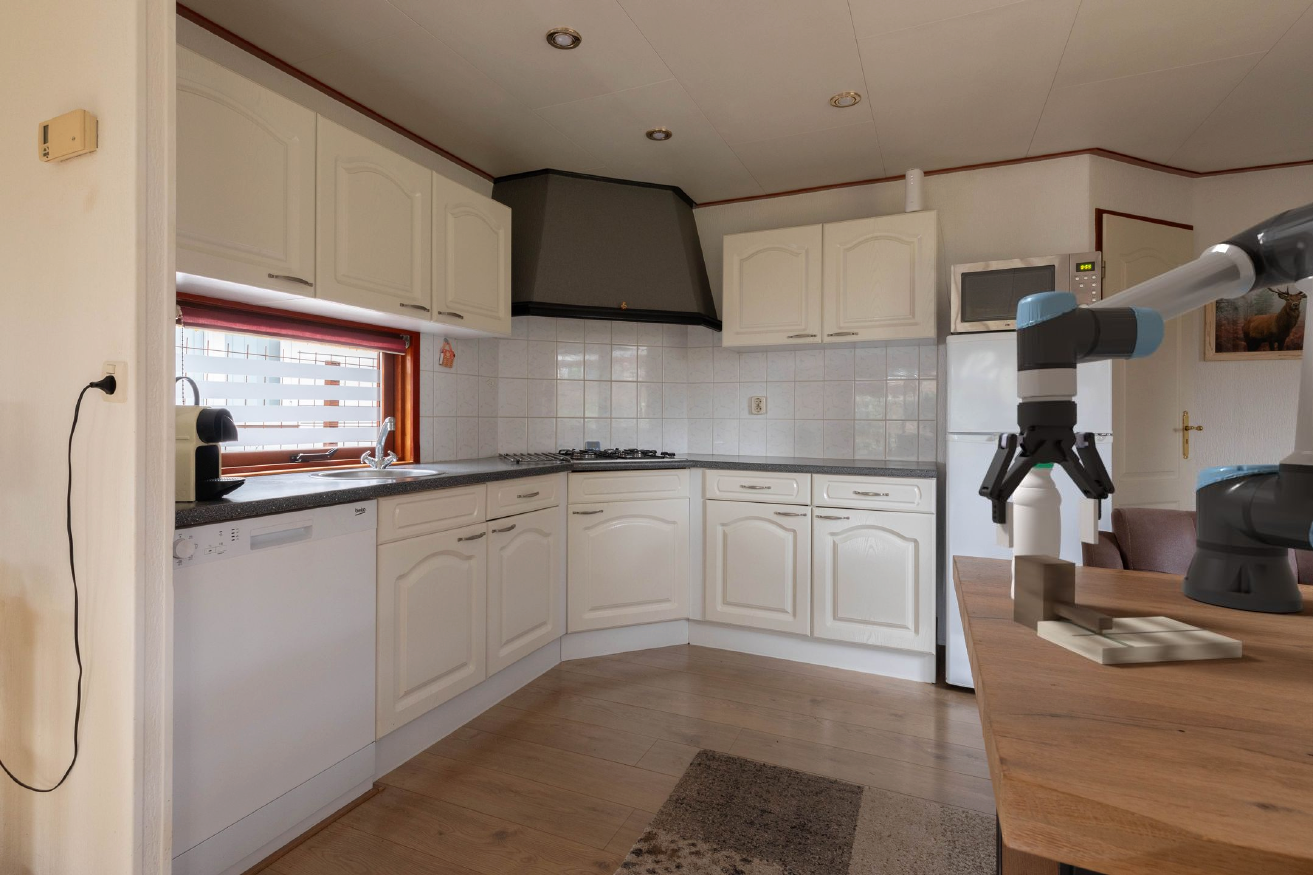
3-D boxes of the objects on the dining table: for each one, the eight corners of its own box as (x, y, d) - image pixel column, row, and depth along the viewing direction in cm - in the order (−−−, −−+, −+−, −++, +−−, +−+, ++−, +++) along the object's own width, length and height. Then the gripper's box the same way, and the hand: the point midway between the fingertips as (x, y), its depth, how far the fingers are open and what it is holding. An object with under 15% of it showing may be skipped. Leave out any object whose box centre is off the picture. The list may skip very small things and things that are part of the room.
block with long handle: (1043, 619, 98) (1044, 554, 97) (1122, 651, 84) (1123, 575, 84) (1013, 621, 97) (1014, 555, 97) (1088, 653, 83) (1089, 576, 83)
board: (1162, 630, 93) (1162, 615, 93) (1241, 657, 82) (1242, 641, 82) (1037, 635, 90) (1037, 620, 90) (1102, 664, 79) (1102, 647, 79)
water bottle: (1056, 600, 109) (1058, 453, 108) (1063, 611, 102) (1065, 455, 102) (1009, 595, 112) (1011, 452, 111) (1012, 605, 105) (1014, 454, 105)
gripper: (1101, 400, 99) (1101, 536, 100) (952, 401, 96) (953, 542, 96) (1144, 398, 92) (1144, 545, 92) (984, 399, 88) (985, 552, 89)
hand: (1047, 544), depth 94 cm, fingers open, 13 cm apart
